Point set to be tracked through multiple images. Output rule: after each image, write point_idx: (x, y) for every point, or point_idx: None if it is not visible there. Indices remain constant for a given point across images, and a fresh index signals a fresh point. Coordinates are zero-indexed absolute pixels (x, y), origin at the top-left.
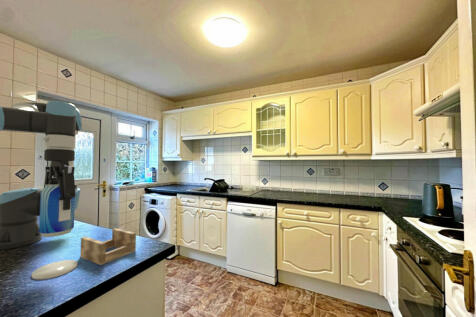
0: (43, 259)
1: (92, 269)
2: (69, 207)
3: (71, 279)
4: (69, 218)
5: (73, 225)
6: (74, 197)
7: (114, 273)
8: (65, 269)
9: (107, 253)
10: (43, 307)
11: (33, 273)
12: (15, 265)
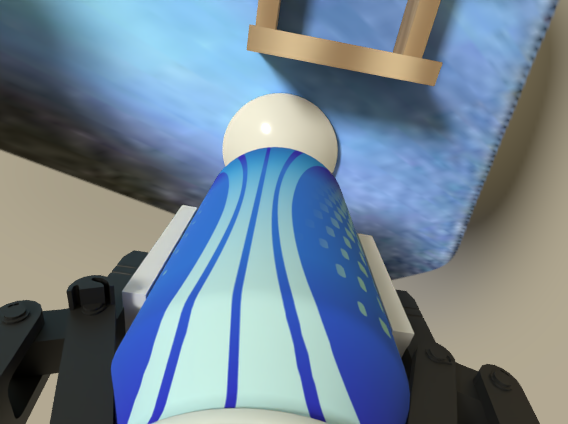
0: (144, 113)
1: (397, 111)
2: (414, 306)
3: (385, 174)
4: (372, 243)
5: (328, 173)
6: (359, 275)
7: (496, 107)
8: (321, 151)
9: (421, 49)
10: (429, 259)
11: None
12: (119, 172)
